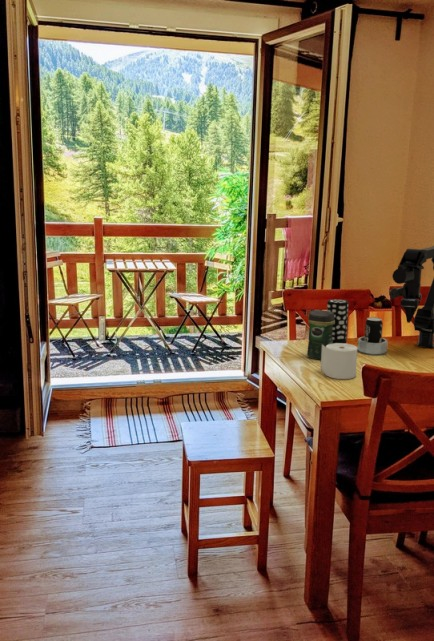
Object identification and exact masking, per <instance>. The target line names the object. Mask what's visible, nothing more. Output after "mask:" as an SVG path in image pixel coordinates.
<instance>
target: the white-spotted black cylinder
mask: <svg viewBox="0 0 434 641" xmlns="http://www.w3.org/2000/svg"><path fill="white" fill-rule="evenodd" d="M326 304H327V306H326V311H331V312H333V313H334V319H335V322H334V325H333V329H332V339H333V344H334V343H345V344H347V342H348V341H347V340H348V338H347V336H348V318H349V301H348V300H345V299H339V298H336V299H335V298H334V299H328V300H327V301H326Z"/></svg>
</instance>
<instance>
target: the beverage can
mask: <svg viewBox="0 0 434 641" xmlns="http://www.w3.org/2000/svg"><path fill="white" fill-rule="evenodd" d="M364 323H365V328H364V337H365V339H364V342H369V343H381V341H382V338H383V326H384V325H383V324H384V323H383V319H382V318H380V317H373V316H371V317H367V318H366V321H365V322H364Z"/></svg>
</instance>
